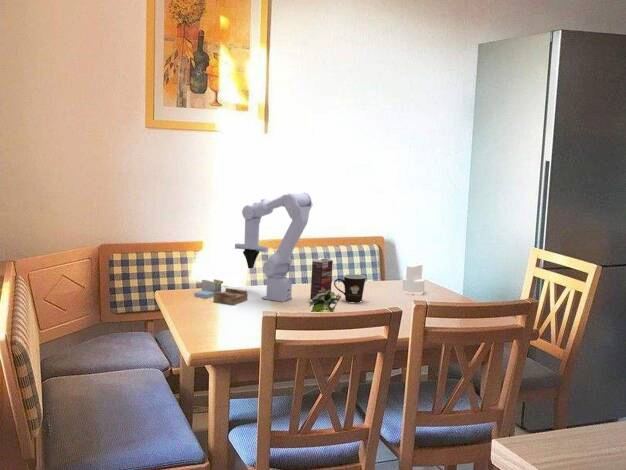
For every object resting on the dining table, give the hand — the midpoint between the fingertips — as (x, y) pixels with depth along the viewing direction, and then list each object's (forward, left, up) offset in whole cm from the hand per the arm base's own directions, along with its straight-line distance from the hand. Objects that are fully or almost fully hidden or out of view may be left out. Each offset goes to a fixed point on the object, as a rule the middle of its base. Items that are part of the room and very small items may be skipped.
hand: (250, 267), depth 279 cm
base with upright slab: (-57, -39, -10) cm, 70 cm away
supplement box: (-30, -4, -10) cm, 32 cm away
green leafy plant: (-41, +16, -10) cm, 45 cm away
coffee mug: (-40, -10, -10) cm, 42 cm away
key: (+10, +12, -10) cm, 19 cm away
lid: (+10, +18, -8) cm, 22 cm away
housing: (-2, +18, -10) cm, 21 cm away
